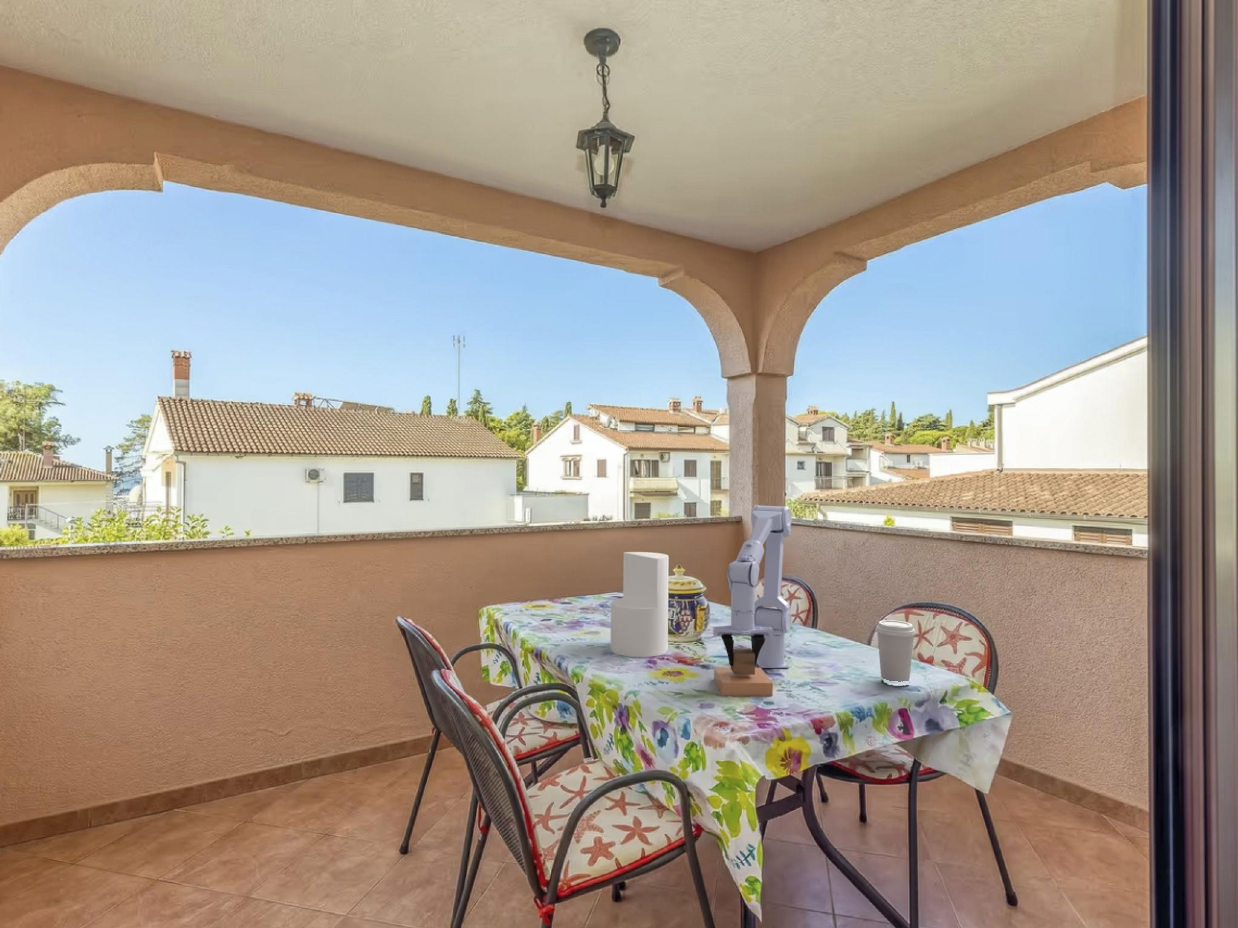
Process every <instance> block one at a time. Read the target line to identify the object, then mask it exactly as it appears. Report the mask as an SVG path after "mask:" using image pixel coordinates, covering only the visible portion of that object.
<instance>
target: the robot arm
mask: <svg viewBox="0 0 1238 928" xmlns="http://www.w3.org/2000/svg"><path fill="white" fill-rule="evenodd" d="M750 518H751V519H750V520H751V524H752V529H751V533H750V536H749V540H745V541H744V542H743V544H742V546H741V547H740V548H741V549H740V550H739V553H738V555H737V556H736V557H737V558H736V559H735V560H733V562H730V564H728V569H727V575H726V576H727V580H728V585H729V586H728V589H729V591H730V592H731V593H730V597H731V598H730V603H731V604H730V609H731V610H730V625H724V626H723V625H721V626H713V627H712V635H713V637H720V638H721V641H722V642H723V645H724V646H725V652H726V655H727V658H728V665H729V666H730V667H731V666H733V648H734V645H735V640H734V639H733V637H735V636H736V637H737V636H738V637H739V636H740V637H741V636H742V637H747V636H748V637H750V641H751V650H752V651H753V652H754V653H755V667H757V666H758V668H761V669H789V668H790V666H789V665H788V664H787V662H786V661H785V654H786V653H785V650H786V649H785V646H786V645H785V644H786V643H785V641H786V640H785V638H786V637H785V634H787V633H788V632H789V631H790V629H791V626H792V614H791V605H790V604H789V603H788V602H787V601H786V600H785V599H784V598H783V597H782V596H781V595H782V581H783V563H784V561H783V559H784V544H785V540H786V539H785V538H787V537H790V536H791V531H792V512H791V510H790V508H789V506H788V505H784V506H778V505H777V506H776V505H758V504H755V505H754V506H753V507H752V509H751V512H750ZM765 542H766V543H765ZM764 544H765V548H764ZM764 554H765V557H764ZM763 557H764V558H765V559H764V560H765V561H764V575H763V577H764V578H763V592H762V593H763V594H762V596H761V597H759V598H758V599H757V600H755V592H756V589H755V588H756V585H757V583H758V581H759V574H760V564H761V562H762V559H763Z"/></svg>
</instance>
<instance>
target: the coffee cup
mask: <svg viewBox="0 0 1238 928" xmlns="http://www.w3.org/2000/svg"><path fill="white" fill-rule="evenodd" d="M877 623H878V624H877V625H876V627H875V629H874V631H875V632H877V642H878V643H877V645H878V654H879V655H878V657H879V668H880V678H881V677H882V678H883V679H886V680H889V681H898V682H901V681H902V682H903V681H909V679H911V668H912V659H913V658H912V657H913V649H914V648H913V647H914V638H915V636H916V635H917V633H916V629H915V628H914V626H913V624H912V623H910V622H907V621H902V620H895V619H894V620H893V619H884V620H880V621H878V622H877ZM909 682H910V681H909Z"/></svg>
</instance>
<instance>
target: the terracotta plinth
mask: <svg viewBox="0 0 1238 928" xmlns="http://www.w3.org/2000/svg"><path fill="white" fill-rule="evenodd" d="M713 668H714V669H713V671H714V672H713V676H714V677H713V679H714V682H715V684H716V685H717V688H718V690H719V692H720V694H721V696H732V697H733V696H748V697H749V696H752V697H753V696H755V697H759V696H761V697H763V696H765V697H767V696H770V697H772V696H773V691H774V689H773V687H774V686H773V682H772V680H771V679H770V677H768V675H767V674H766V673H765V671H764V670H763V668H760V667H755V675H736V674H734V673H733V671H732V670H731V667H717V666H716V667H713Z"/></svg>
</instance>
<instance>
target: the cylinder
mask: <svg viewBox="0 0 1238 928" xmlns="http://www.w3.org/2000/svg"><path fill="white" fill-rule="evenodd" d="M669 557H670V556H669V555H668V554H665V553H660V552H650V551H648V552H647V551H625V552H623V564H622V565H623V568H622V569H623V577H622V578H623V579H622V581H623V583H622V584H623V586H622V590H623V591H622V594H623V595H622V597H621V598H615V599H613V600H611V601H610V647H609V649H610V651H611V652H613V653H614V654H616V655H620V656H623V657H630V658H631V657H632V658H650V657H651V658H652V657H658V656H660V655H661V656H662V655H664V654H666V653H668V651H669V565H670V564H669V561H670V560H669V559H670V558H669Z"/></svg>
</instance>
